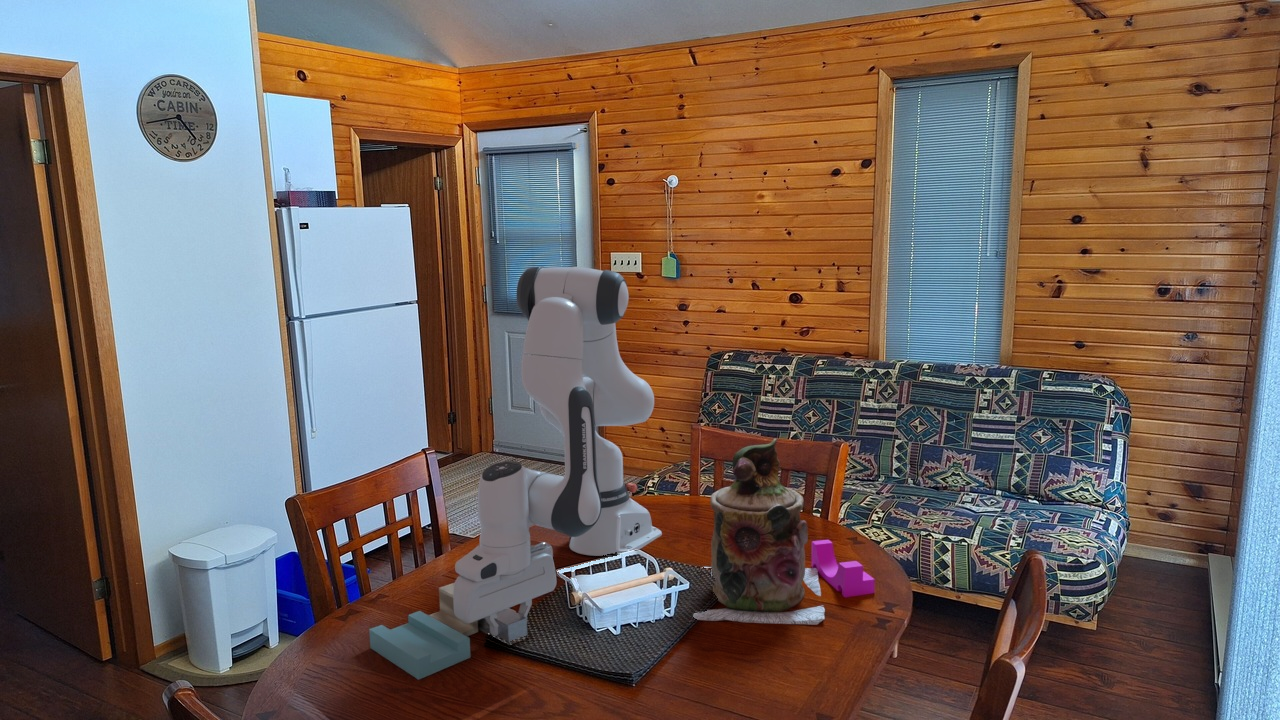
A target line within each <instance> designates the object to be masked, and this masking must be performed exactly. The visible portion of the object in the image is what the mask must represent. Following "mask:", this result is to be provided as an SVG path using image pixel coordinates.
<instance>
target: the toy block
mask: <svg viewBox="0 0 1280 720" xmlns="http://www.w3.org/2000/svg"><path fill="white" fill-rule="evenodd" d="M833 545H834V543H833V542H832V541H831V540H830V539H821V540H820V539H819V540H814V541H813V540H812V541H811V568H817V570H818V571H819V572H818V575H820V577H822V578H823V579H824V580H825V581H826V582H827V583H828V584H830V586H832V588H834V589H835V590H836V591H837V592H841V595H842V596H843V597H844V598H851V597H857V596H864V595H870V594H875V589H876V588H875V587H876V586H875V583H876V582H875V581H876V579H875V578H874V577H872V576H871V575H870V574H868V573H867V572H865V571H864V565H862V563H860V562H858V561H857V560H852V561H845V562H844V561H843V562H837V559H836V556H835V552H834V546H833Z"/></svg>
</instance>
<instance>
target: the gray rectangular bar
mask: <svg viewBox="0 0 1280 720" xmlns="http://www.w3.org/2000/svg"><path fill="white" fill-rule="evenodd" d="M510 609H511V608H510ZM510 609H505V610H502V611H500V612H497V618H494V619H495V621H496V622H498V623H499V624H502V631H503V632H502V634H499V635H498V636H500V637H501V638H503V639H505V640H507V641H508V642H510V641H512V640H515V639H518V638H520V637H523V636H526V635H527V636H528V617H527V618H526V617H524V616H522V615H520V614H518V612H517V611H516V612H514V611H515V610H514V611H512V610H513V609H512V610H510ZM478 631H480V632H482V633H484V634H486V635H487V634H488V633H490V625H489V624H488V622H487V621H486V619H485V618H482V619H479V620H478Z"/></svg>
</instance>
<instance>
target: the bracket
mask: <svg viewBox="0 0 1280 720" xmlns="http://www.w3.org/2000/svg"><path fill="white" fill-rule="evenodd" d="M454 584H455V581H454V582H452V583H449V584H446V585H443V586H440V587H438V596H439V611H436V612H433V613H432V614H428V616H430V617H432V618H434V619H436V620H438V621H439V622H441V623H443V624H445V625H447V626H449V627H450V628H452V629H454V630H456V631H458V632H460V633H461V634H463V635H465V636H467V637H469V636H473V635H474V634H476V633H478V632H479V629H478V620H477V621H474V622H472V623H469V624H468V623H465V622H463V621H461V620H460V619H458V618H457V617H456V616H455V614H454V605H453V594H454ZM508 609H510V610H512V611H514V612H516V613H517V611H516V610H514V609H511V607H510V608H508Z"/></svg>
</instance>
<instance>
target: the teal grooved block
mask: <svg viewBox="0 0 1280 720" xmlns="http://www.w3.org/2000/svg"><path fill="white" fill-rule="evenodd" d="M407 616H408V617H407V619H408V620H407V621H408V622H407V623H405V624H402V625H399V626H397V627H394V628H392V629H390V628H388V627H386V626H385V625H383V624H380V625H377V626H374V627H371V628H369V629H368V633H369V645H370V647H369V648H370V649H371V650H373V651H374V652H376V653H377V654H379V655H380V656H382V657H383V658H384V659H386V660H388V661H389V662H391V663H392V664H394V665H395V666H397V667H399V669H401V670H403V671H404V672H406V673H407V674H409V675H411V676H412V677H414V678H415V679H417V680H418V681H419V680H422V679H424V678H426V677H428V676H431V675H433V674H435V673H438V672H440V671H442V670H444V669H447V668H449V667H451V666H454V665H456V664H459V663H461V662H463V661H465V660H467V659H470V658H471V639H470V637H469V636H465V635H463V634H461V633H460V632H458V631H456V630H454V629H452V628H450V627H449V626H447V625H445V624H443V623H441V622H439V621H438V620H436V619H434V618H432V617H430V616H429V614H427V613H424V612H423V611H421V610H418V611H415V612H413V613H410V614H408V615H407Z"/></svg>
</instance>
